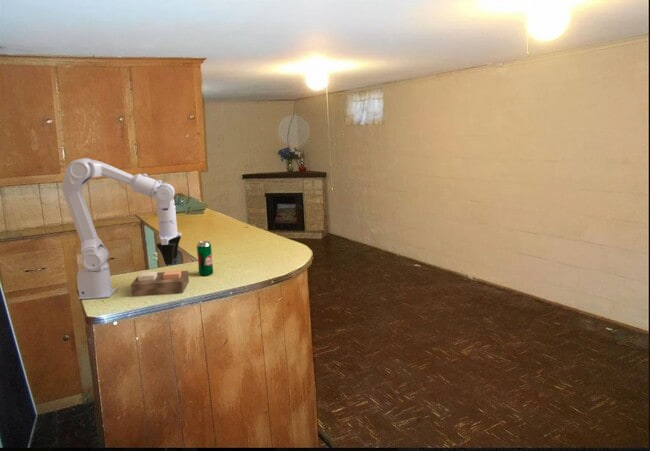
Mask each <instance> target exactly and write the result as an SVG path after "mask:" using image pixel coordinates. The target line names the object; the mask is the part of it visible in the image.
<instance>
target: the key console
mask: <svg viewBox="0 0 650 451" xmlns="http://www.w3.org/2000/svg"><path fill="white" fill-rule="evenodd" d="M164 273H165V271H164V272H163V271H162V272H160V271H159V272H157V278H156V279H155V280H150V281H138V276H139V275H140V273H139V275H138V276H137V277H135V279H134V280H133V281H132V282H131V283H130V290H131V297H145V296H160V295H161V296H162V295H175V294H176V295H178V294H183V293H184V292H185V291H186V289H187V287H188V284H189V281H190V280H189V278H190V277H189V271H188V270H181V273H182V276H181V277H180V279H166V280H163V274H164Z"/></svg>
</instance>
